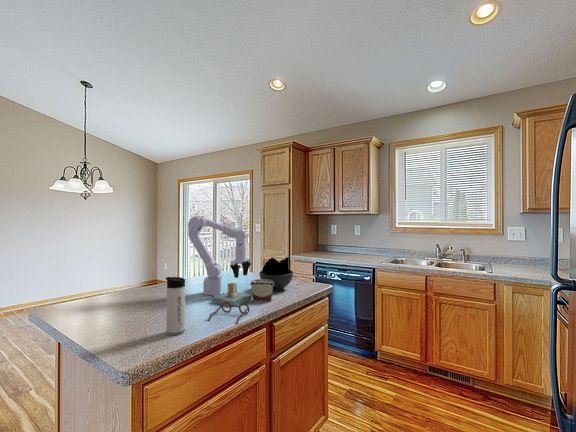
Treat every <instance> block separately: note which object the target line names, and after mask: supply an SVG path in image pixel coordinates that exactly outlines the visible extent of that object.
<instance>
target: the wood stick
mask: <svg viewBox="0 0 576 432" xmlns="http://www.w3.org/2000/svg"><path fill="white" fill-rule="evenodd" d="M227 292H228V297H232V298H235V297H237V292H238V283H236V282H233V281H232V282H228V283H227Z"/></svg>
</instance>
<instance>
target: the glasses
mask: <svg viewBox="0 0 576 432" xmlns="http://www.w3.org/2000/svg"><path fill="white" fill-rule="evenodd" d="M223 304H228V305H229V306H228V307H229V310H225V309H224V305H223ZM223 304H222V305H221V304H220V306H219V307H218V308H217V309H216V310H215V311H214V312H211V313H210V314H209V317H208V320H207V322H210V321H211V318H212V316H213V315H214V314H217V313H218V311H219V310H222V311H223V312H224V313H231V311H232V307H233V308H235V307H236V308H238V309H239V312H240V313H241V314H240V315H238V317H237V320H236V324H235V325H238V324H239V321H240V318H241V317H243V316H244V315H247V314H249V312H250V306H249V305H248V304H247V303H242V304H240V305H232V306H231V304H229V303H228V302H224V303H223ZM242 306H245V307H246V309H245V310H244V311H242V308H241V307H242Z"/></svg>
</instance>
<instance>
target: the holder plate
mask: <svg viewBox="0 0 576 432" xmlns="http://www.w3.org/2000/svg"><path fill="white" fill-rule="evenodd" d="M249 301H253V297H252V294H249V293H243V292H238V291H237V297H235V298H232V297H228V291H227V292H225V293H222V294H219V295H216V296H212V297H211V303H213V304H217V305H221V304H223V303H224V302H228V303H229V304H231V306H232V305H238V306H240V305H241V304H246V303H248V302H249ZM223 306H226V307H227V306H228V307H230V306H229V305H228V304H223Z"/></svg>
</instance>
